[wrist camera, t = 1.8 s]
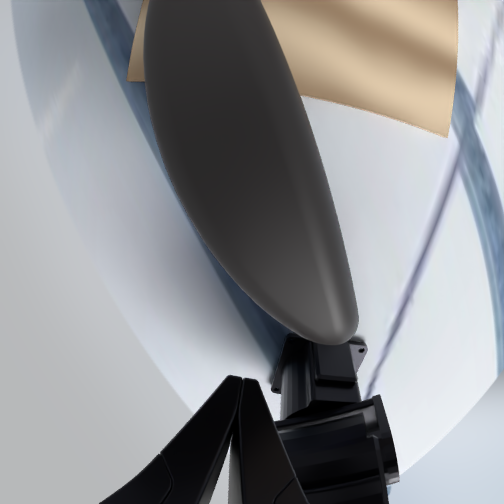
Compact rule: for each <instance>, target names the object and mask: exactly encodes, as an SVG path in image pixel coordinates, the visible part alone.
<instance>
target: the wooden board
mask: <svg viewBox="0 0 504 504" xmlns="http://www.w3.org/2000/svg"><path fill="white" fill-rule="evenodd" d="M261 2H262V4H263V7H264V9H265V11H266V13H267V15H268V18H269V20H270V22H271V24H272V27H273V29H274V31H275V33H276V36H277V38H278V40H279V43H280V45H281V48H282V50H283V53H284V55H285V58H286V60H287V63H288V65H289V68H290V70H291V73H292V75H293V78H294V81H295V83H296V86H297V89H298V91H299V94H300V96H305V97H310V98H315V99H320V100H324V101H329V102H333V103H337V104H341V105H345V106H349V107H353V108H357V109H361V110H364V111H368V112H371V113H375V114H378V115H381V116H385V117H388V118H391V119H394V120H397V121H400V122H403V123H406V124H409V125H412V126H415V127H418V128H421V129H423V130H426V131H429V132H431V133H434V134H436V135H439V136H441V137H446V138H448V133H449V127H450V121H451V114H452V107H453V99H454V91H455V81H456V69H457V52H458V1H457V0H261ZM148 4H149V0H143V3H142V7H141V11H140V15H139V19H138V23H137V27H136V32H135V36H134V41H133V46H132V51H131V56H130V62H129V68H128V74H127V80H126V81H129V82H145V79H144V64H143V45H144V30H145V20H146V15H147V9H148Z"/></svg>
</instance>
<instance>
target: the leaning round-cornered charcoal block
mask: <svg viewBox="0 0 504 504" xmlns="http://www.w3.org/2000/svg"><path fill="white" fill-rule="evenodd" d="M143 64H144V79H145V88H146V95H147V102H148V108H149V113H150V118H151V122H152V126H153V130H154V134H155V137H156V141H157V144H158V147H159V150H160V153H161V156H162V159H163V162H164V165H165V167H166V170H167V172H168V175H169V177H170V179H171V182H172V184H173V186H174V189H175V191H176V193H177V195H178V197H179V199H180V201H181V203H182V205H183V207H184V209H185V211H186V213H187V215H188V216H189V218H190V220H191V222H192V223H193V225H194V227H195V228H196V230H197V232H198V233H199V235H200V237H201V238H202V240H203V241H204V242H205V244H206V245H207V247H208V248H209V250H210V251H211V253H212V254H213V255H214V257H215V258H216V259H217V261H218V262H219V263H220V264H221V266H222V267H223V268H224V269H225V271H226V272H227V273H228V275H229V276H230V277H231V278H232V279H233V280H234V281H235V282H236V284H237V285H238V286H239V287H240V288H241V289H242V290H243V291H244V292H245V293H246V294H247V295H248V296H249V297H250V298H251V299H252V300H253V301H254V302H255V303H256V304H257V305H259V306H260V307H261V308H262V309H263V310H264V311H266V312H267V313H268V314H269V315H270V316H272V317H273V318H274V319H276V320H277V321H278V322H280V323H281V324H282V325H284V326H285V327H287V328H288V329H290V330H291V331H293V332H294V333H296V334H298V335H299V336H301V337H303V338H305V339H307V340H310V341H312V342H315V343H319V344H324V345H340V344H343V343H345V342H347V341H348V340H350V339H351V338H352V337H353V335H354V334H355V332H356V330H357V327H358V322H359V316H358V309H357V303H356V298H355V293H354V288H353V283H352V278H351V273H350V268H349V264H348V259H347V255H346V250H345V246H344V242H343V238H342V234H341V230H340V225H339V222H338V218H337V214H336V210H335V206H334V202H333V199H332V195H331V191H330V188H329V184H328V181H327V177H326V174H325V170H324V167H323V164H322V160H321V157H320V154H319V151H318V147H317V144H316V141H315V138H314V135H313V132H312V129H311V126H310V123H309V120H308V117H307V114H306V111H305V108H304V105H303V103H302V100H301V97H300V94H299V91H298V89H297V86H296V83H295V81H294V78H293V75H292V73H291V70H290V68H289V65H288V63H287V60H286V58H285V55H284V53H283V50H282V48H281V45H280V43H279V40H278V38H277V36H276V33H275V31H274V29H273V27H272V24H271V22H270V20H269V18H268V15H267V13H266V11H265V9H264V7H263V4H262V2H261V0H149V4H148V9H147V15H146V20H145V30H144V45H143Z"/></svg>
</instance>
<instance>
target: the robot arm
mask: <svg viewBox="0 0 504 504" xmlns="http://www.w3.org/2000/svg"><path fill="white" fill-rule="evenodd" d="M291 339H293V340H294V341H289V340H291ZM361 348H363V349H361ZM359 349H361V350H359ZM367 350H368V349H367V345H366V344H365V343H363V342H354V341H347V342H345V343H343V344H340V345H324V344H319V343H315V342H312V341H310V340H307V339H305V338H303V337H301V336H299V335H298V334H293V333H292V334H288V335H287V336H286V337H285V340H284V344H283V348H282V351H281V354H280V358H279V361H278V365H277V368H276V371H275V375H274V378H273V381H272V385H271V391H272V392H273V393H277V394H281V410H280V420H279V421H273V418H272V415H271V413H270V410H269V408H268V405H267V403H266V400H265V398H264V395H263V392H262V390H261V387H260V385H259V382H258V381H257V380H256V379H250V378H243V380H242V377H239V376H233V375H228V376H227V377H226V378H225V379H224V380H223V382H222V383H221V384H220V385H219V386H218V388H217V389H216V390H215V391H214V392H213V393H212V395H211V396H210V397H209V398H208V399H207V400H206V402H205V403H204V404H203V405H202V406H201V407H200V409H199V410H198V411H197V412H196V413H195V414H194V415H193V417H192V418H191V419H190V420H189V421H188V422H187V423H186V424H185V426H184V427H183V428H182V429H181V430H180V431H179V432H178V433H177V434H176V436H175V437H174V438H173V439H172V440H171V441H170V442H169V443H168V444H167V445H166V446H165V448H164V449H163V450H162V451H161V452H160V454H158V455H157V456H156V457H155V458H154V459H153V460H152V461H151V462H150V463H149V464H148V465H147V466H146V467H145V468H144V469H143V470H142V471H141V472H140V473H139V474H138V475H137V476H135V477H134V478H133V479H132V480H130V481H129V482H128V483H127V484H125V485H124V486H123V487H122V488H120V489H119V490H117V491H116V492H115V493H113V494H112V495H110V496H109V497H108V498H106V499H105V500H103V501H102V502H100V503H99V504H209V503H210V500H211V497H212V494H213V491H214V489H215V486H216V483H217V480H218V478H219V475H220V472H221V469H222V467H223V464H224V461H225V458H226V455H227V452H228V449H229V446H230V464H229V491H228V504H389V501H388V494H387V487H386V485H390V484H393V483H396V482H399V470H398V463H397V457H396V452H395V447H394V442H393V438H392V434H391V430H390V427H389V423H388V420H387V416H386V413H385V409H384V406H383V403H382V399H381V396H380V394H379V395H376V396H373V397H372V398H371V399H367V400H364V401H361V396H360V391H359V386H358V382H357V374H356V373H357V371H358V369H359V367H360V365H361V363H362V361H363V359H364V357H365V355H366V353H367ZM232 432H233V433H232ZM231 437H232V438H231ZM230 442H231V445H230Z"/></svg>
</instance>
